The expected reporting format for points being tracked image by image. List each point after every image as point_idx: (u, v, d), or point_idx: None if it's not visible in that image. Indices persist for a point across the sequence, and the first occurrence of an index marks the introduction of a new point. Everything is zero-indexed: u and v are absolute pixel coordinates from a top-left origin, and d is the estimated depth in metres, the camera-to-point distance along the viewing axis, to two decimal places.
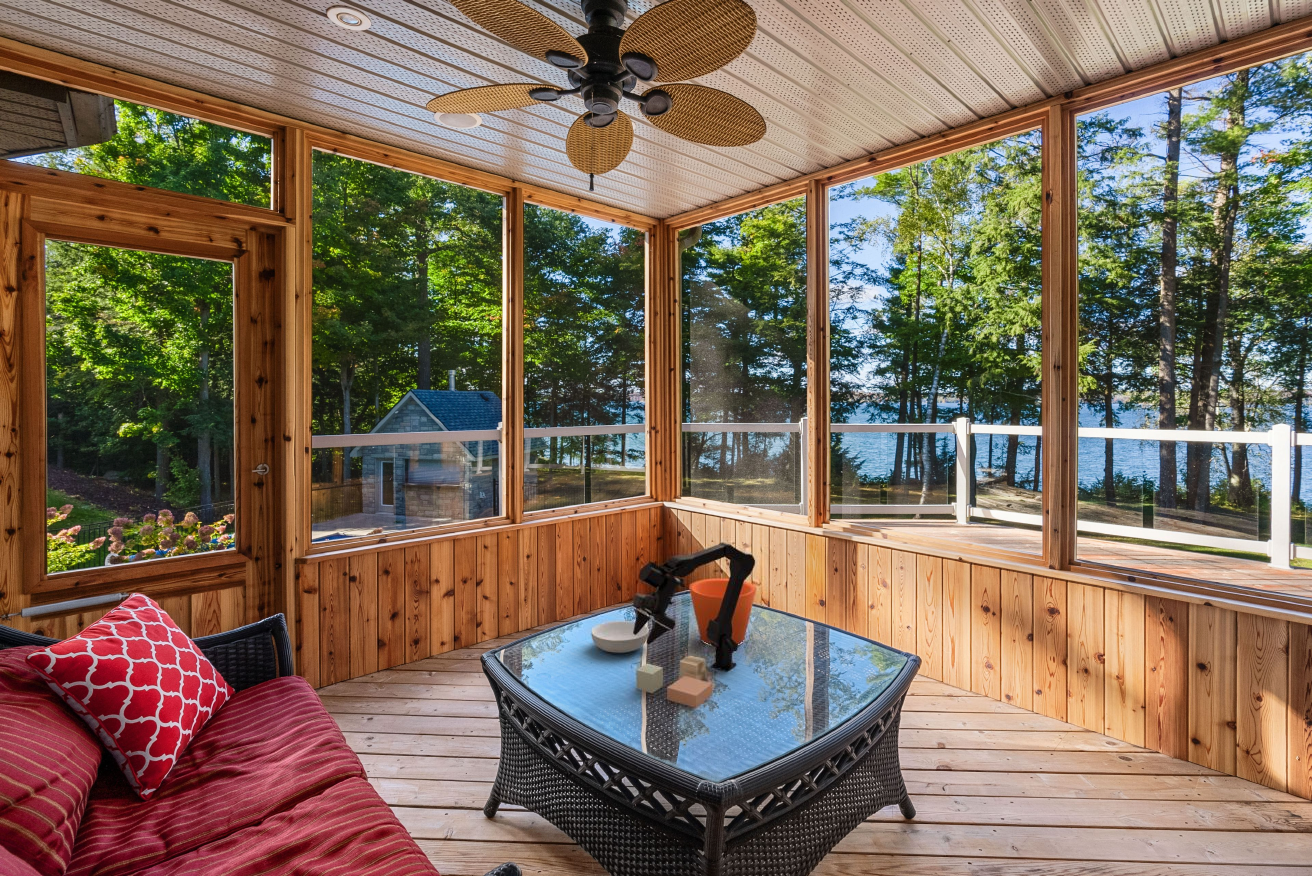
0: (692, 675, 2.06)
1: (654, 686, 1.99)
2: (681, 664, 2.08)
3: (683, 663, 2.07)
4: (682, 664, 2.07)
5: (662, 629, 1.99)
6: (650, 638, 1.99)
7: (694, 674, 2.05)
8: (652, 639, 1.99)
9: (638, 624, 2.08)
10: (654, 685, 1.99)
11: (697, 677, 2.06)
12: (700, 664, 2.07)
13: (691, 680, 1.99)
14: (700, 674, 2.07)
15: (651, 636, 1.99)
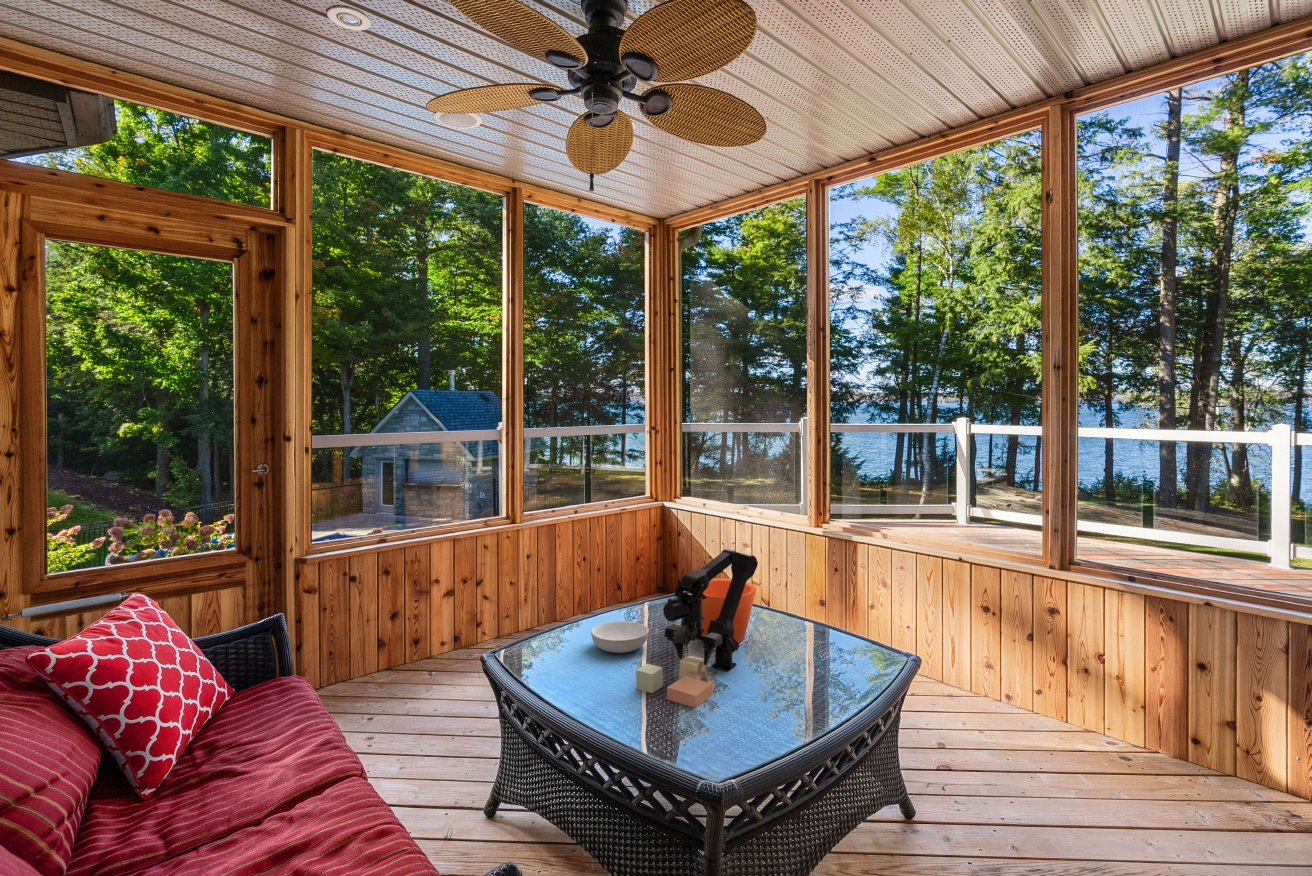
0: (692, 675, 2.06)
1: (654, 686, 1.99)
2: (681, 664, 2.08)
3: (683, 663, 2.07)
4: (682, 664, 2.07)
5: None
6: (706, 660, 2.06)
7: (694, 674, 2.05)
8: (708, 659, 2.06)
9: (679, 648, 2.11)
10: (654, 685, 1.99)
11: (697, 677, 2.06)
12: (700, 664, 2.07)
13: (691, 680, 1.99)
14: (700, 674, 2.07)
15: (707, 658, 2.05)
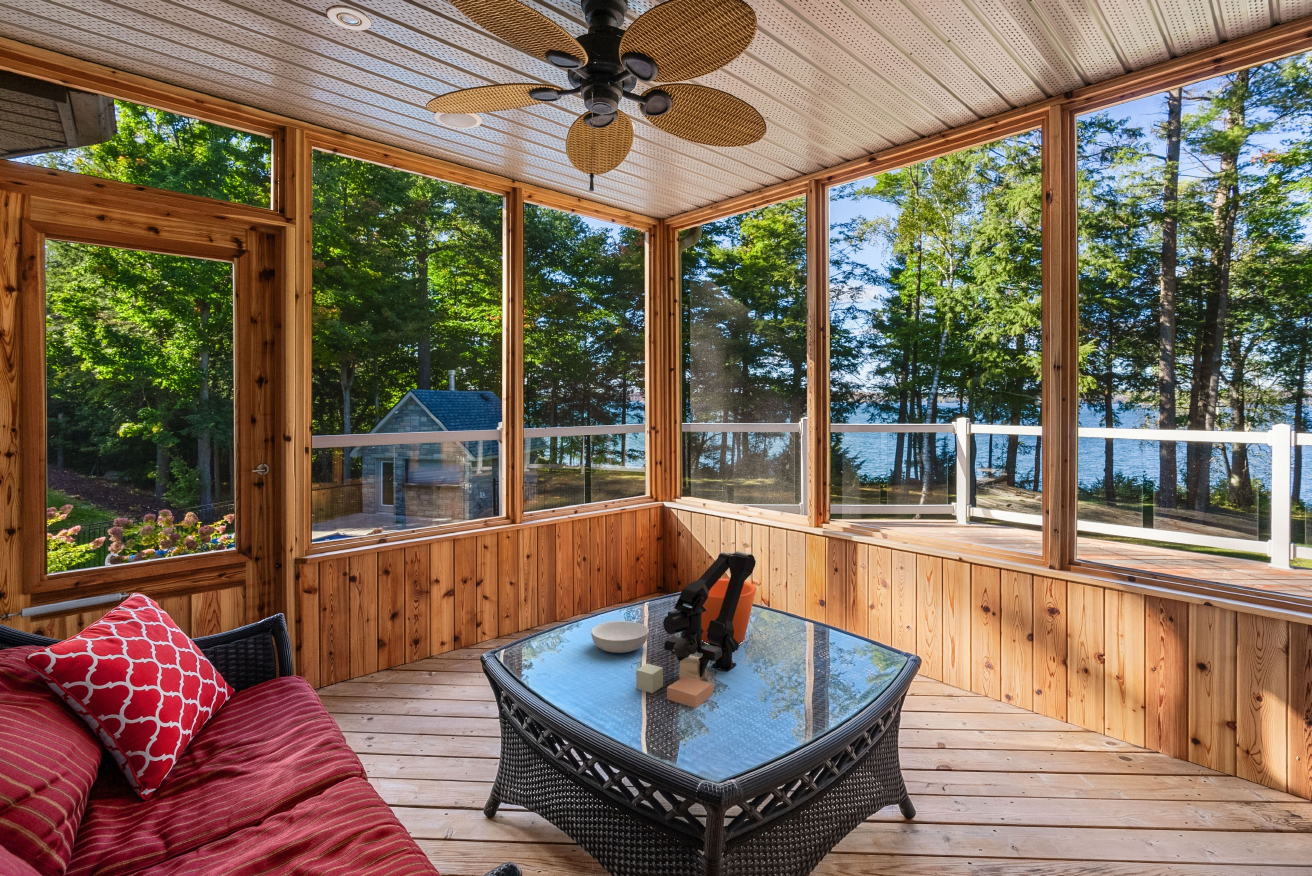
0: (691, 674, 2.06)
1: (654, 686, 1.99)
2: (681, 664, 2.08)
3: (683, 663, 2.07)
4: (682, 664, 2.07)
5: None
6: (702, 672, 2.06)
7: (694, 674, 2.05)
8: (703, 671, 2.07)
9: None
10: (654, 685, 1.99)
11: (697, 677, 2.06)
12: None
13: (691, 680, 1.99)
14: None
15: (702, 670, 2.06)
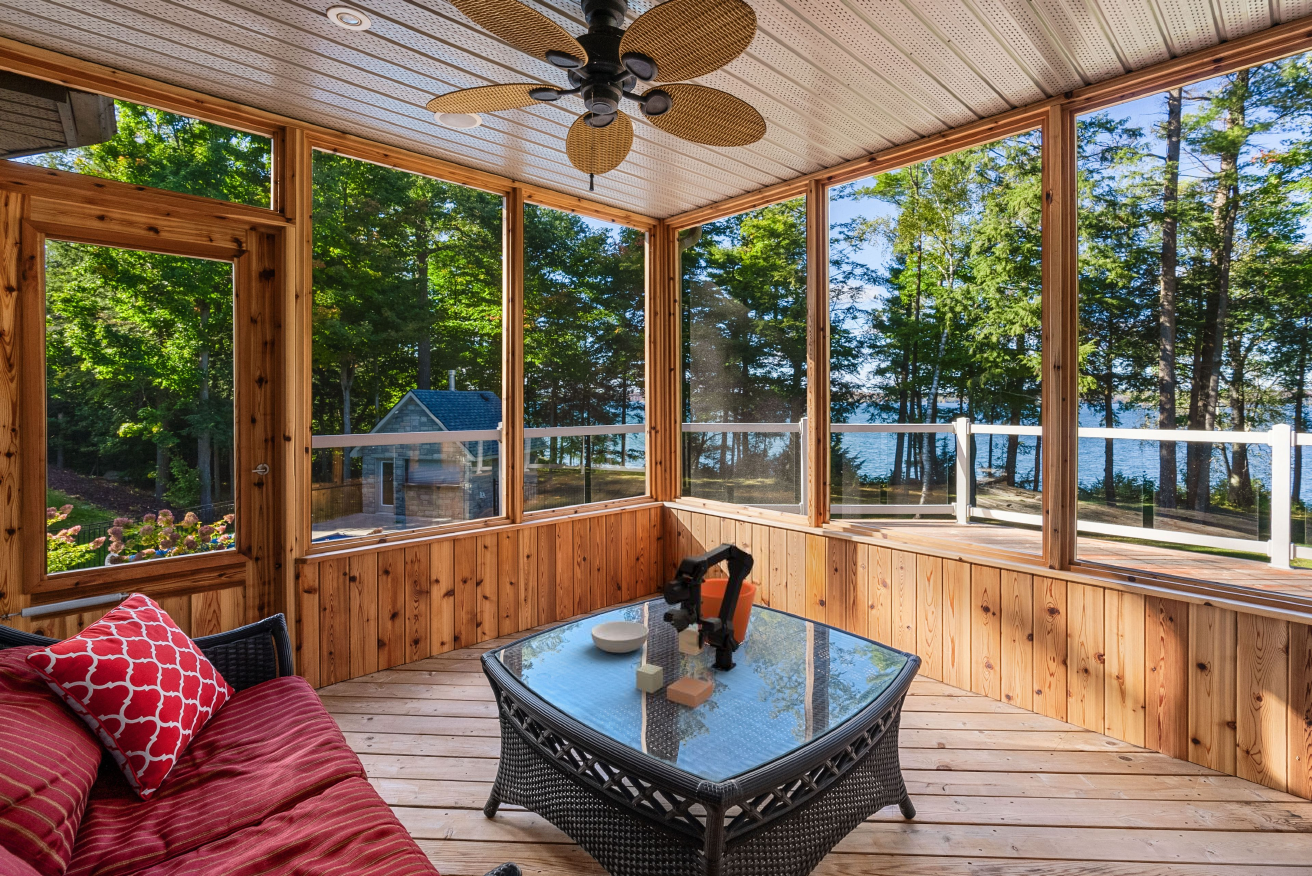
0: (691, 646, 2.03)
1: (654, 686, 1.99)
2: (680, 635, 2.05)
3: (682, 634, 2.05)
4: (681, 635, 2.05)
5: None
6: (701, 643, 2.04)
7: (693, 645, 2.03)
8: (703, 643, 2.05)
9: None
10: (654, 685, 1.99)
11: (696, 648, 2.03)
12: None
13: (691, 680, 1.99)
14: None
15: (702, 642, 2.04)
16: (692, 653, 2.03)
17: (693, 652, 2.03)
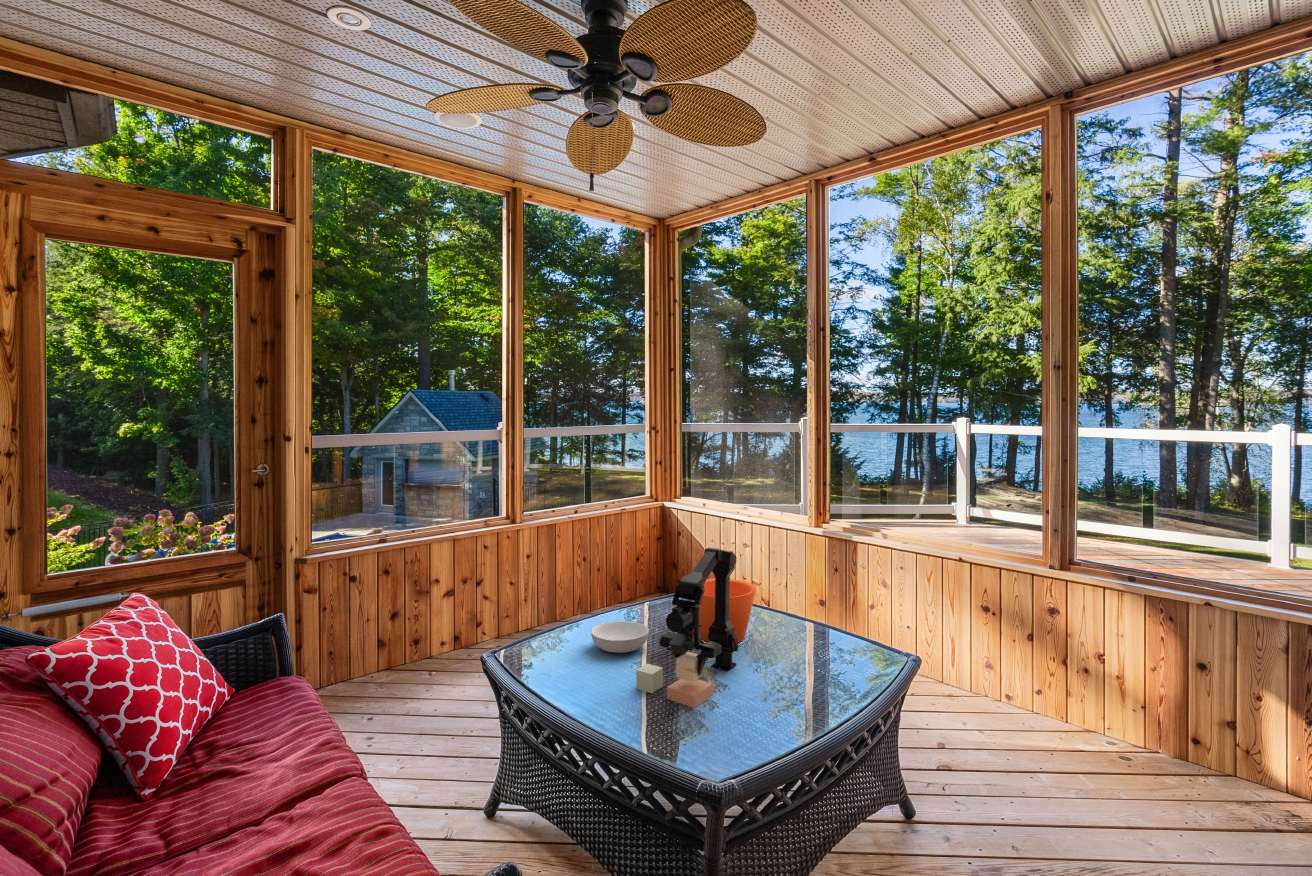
0: (689, 672, 1.92)
1: (654, 686, 1.99)
2: (678, 661, 1.94)
3: (680, 660, 1.94)
4: (679, 661, 1.94)
5: None
6: (700, 669, 1.93)
7: (692, 672, 1.91)
8: (702, 669, 1.94)
9: None
10: (654, 685, 1.99)
11: (695, 675, 1.92)
12: None
13: None
14: None
15: (701, 668, 1.93)
16: (690, 680, 1.92)
17: (692, 679, 1.92)
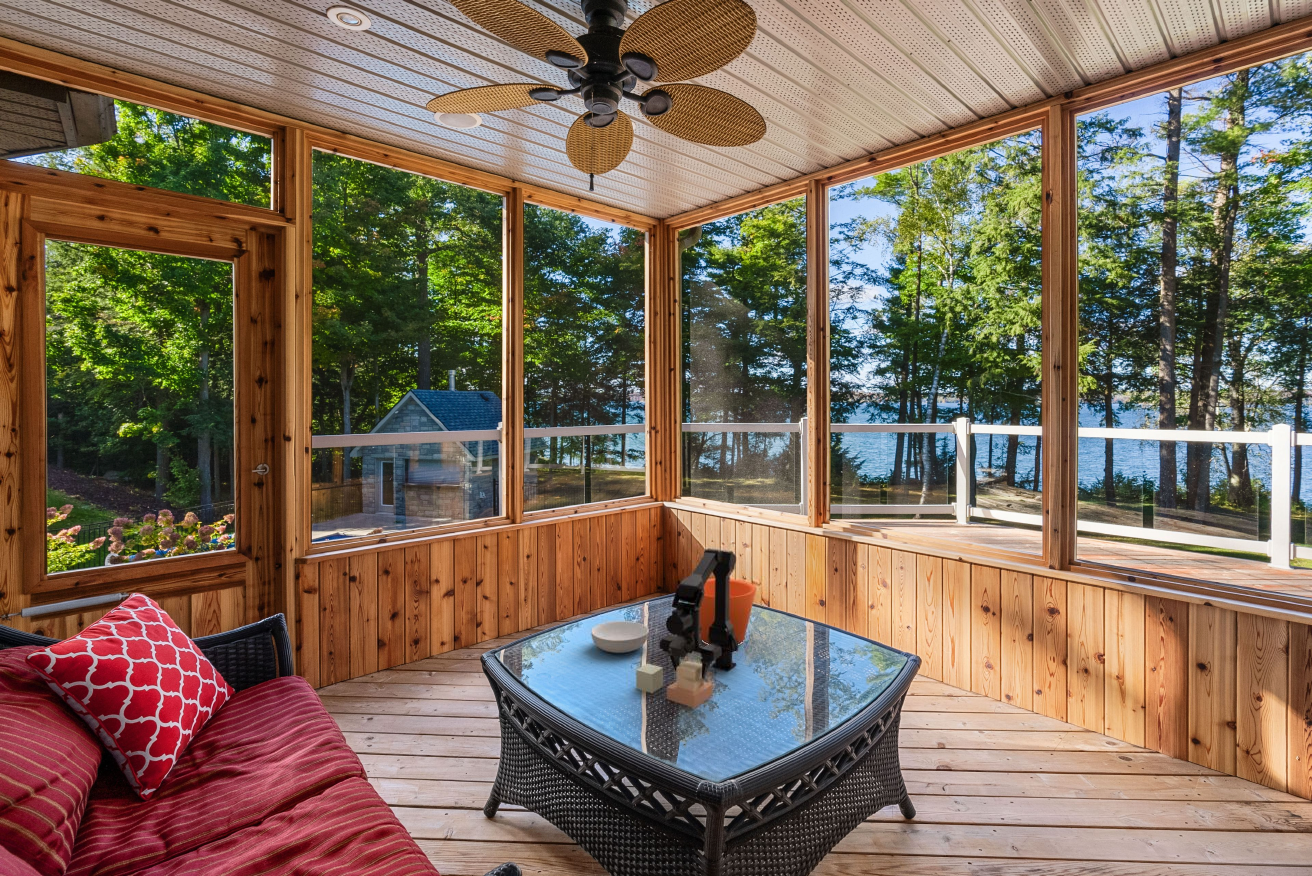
0: (689, 682, 1.92)
1: (654, 686, 1.99)
2: (678, 670, 1.94)
3: (680, 669, 1.94)
4: (679, 670, 1.94)
5: None
6: (704, 673, 1.92)
7: (692, 681, 1.92)
8: (706, 673, 1.93)
9: (675, 661, 1.98)
10: (654, 685, 1.99)
11: (695, 684, 1.92)
12: (698, 670, 1.93)
13: None
14: (698, 681, 1.94)
15: (705, 671, 1.92)
16: (690, 689, 1.92)
17: (692, 689, 1.92)
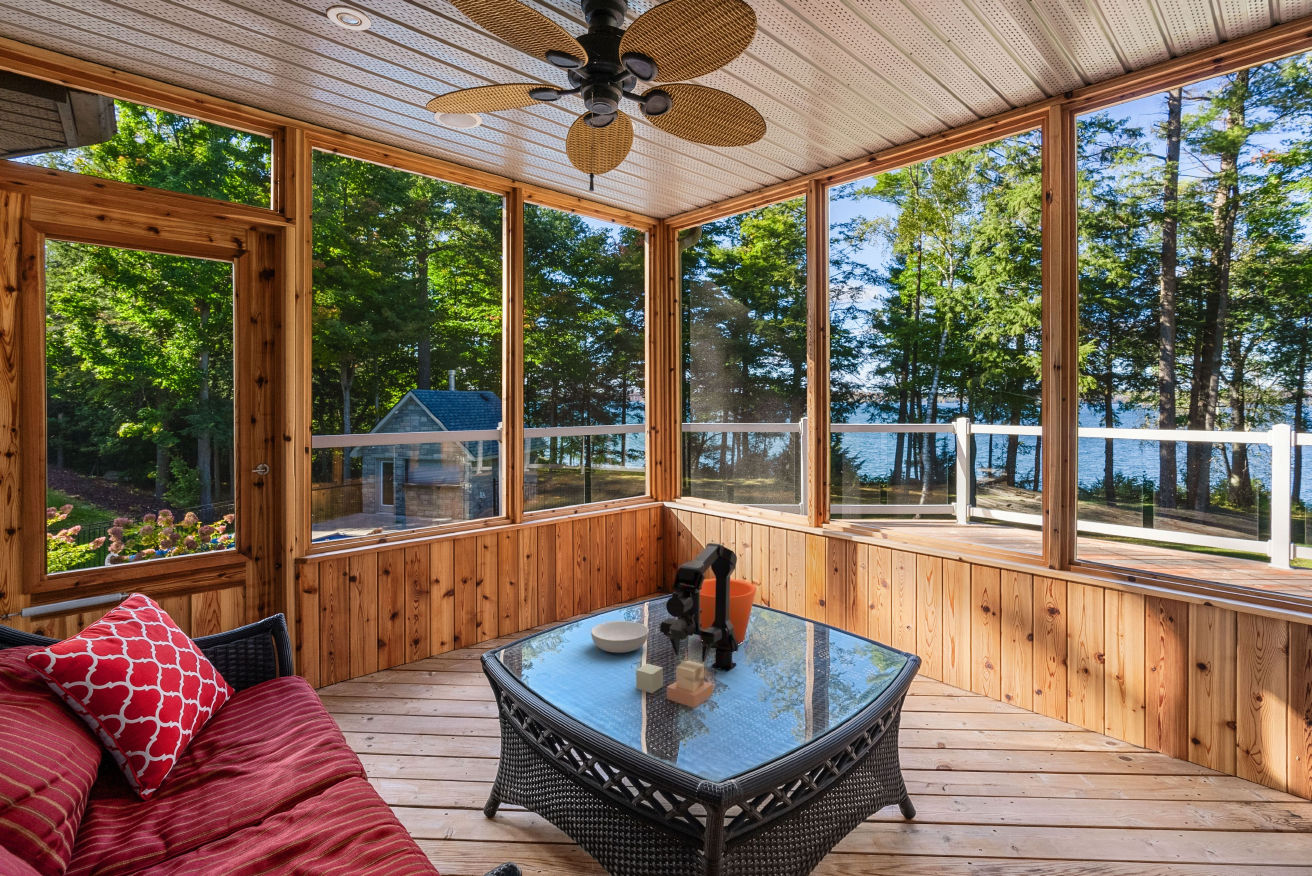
0: (689, 681, 1.92)
1: (654, 686, 1.99)
2: (678, 670, 1.94)
3: (680, 669, 1.94)
4: (679, 670, 1.94)
5: None
6: (705, 656, 1.92)
7: (691, 681, 1.92)
8: (706, 656, 1.93)
9: (676, 644, 1.97)
10: (654, 685, 1.99)
11: (694, 684, 1.92)
12: (698, 670, 1.93)
13: None
14: (698, 681, 1.94)
15: (705, 654, 1.92)
16: (690, 689, 1.92)
17: (692, 688, 1.92)
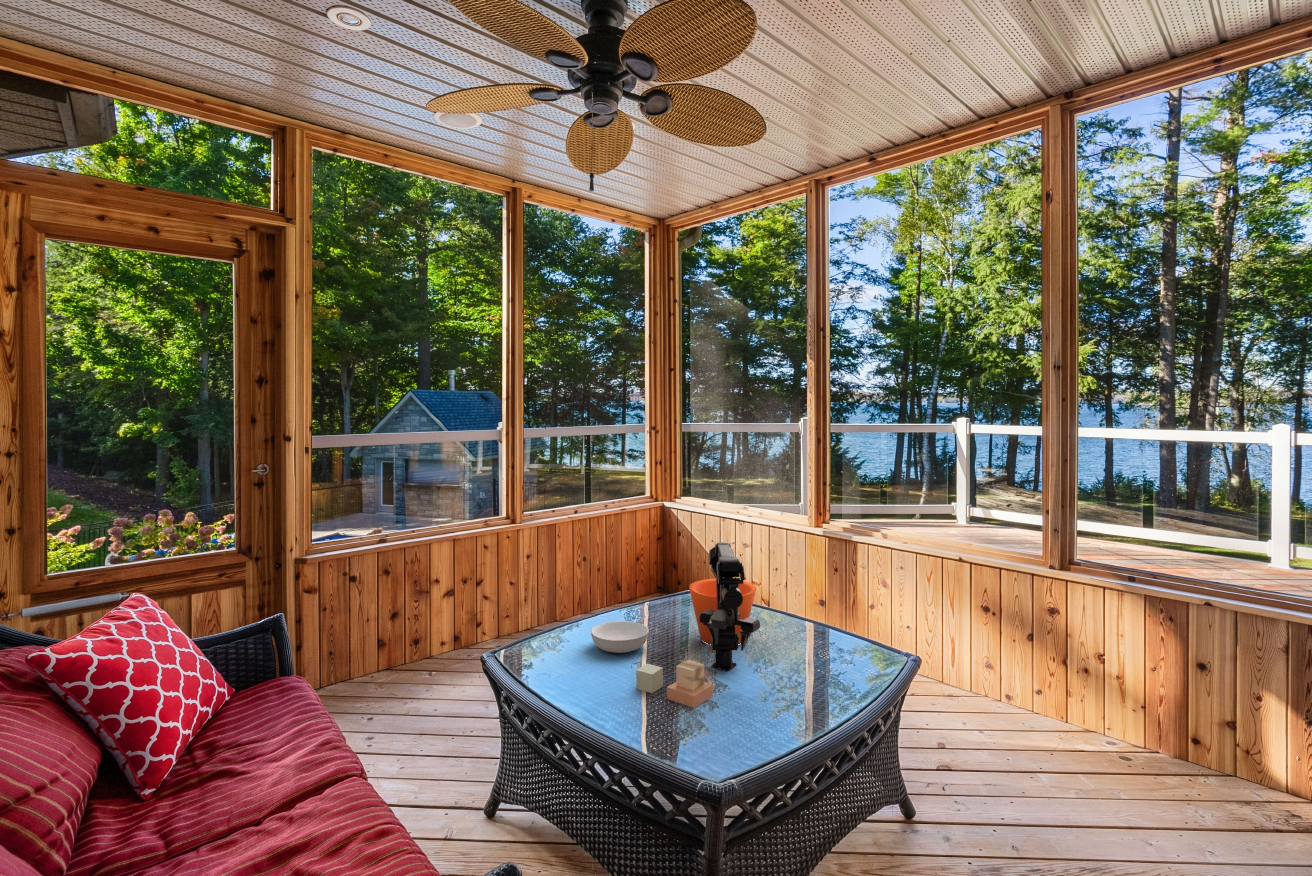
0: (688, 680, 1.93)
1: (654, 686, 1.99)
2: (678, 669, 1.95)
3: (680, 668, 1.95)
4: (679, 669, 1.95)
5: None
6: (743, 645, 2.00)
7: (691, 680, 1.92)
8: (745, 645, 2.01)
9: (715, 634, 2.06)
10: (654, 685, 1.99)
11: (694, 683, 1.92)
12: (698, 669, 1.94)
13: None
14: (698, 680, 1.94)
15: (744, 643, 2.00)
16: (690, 688, 1.92)
17: (691, 688, 1.92)
